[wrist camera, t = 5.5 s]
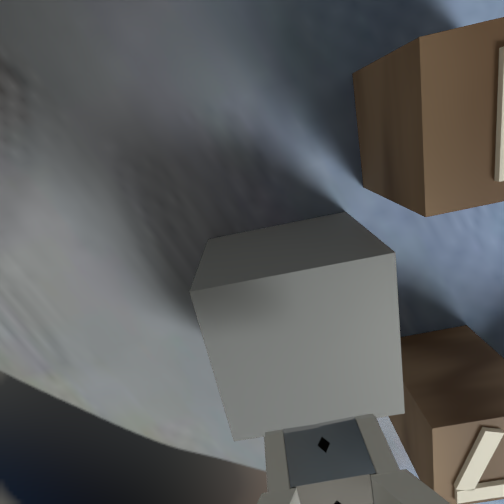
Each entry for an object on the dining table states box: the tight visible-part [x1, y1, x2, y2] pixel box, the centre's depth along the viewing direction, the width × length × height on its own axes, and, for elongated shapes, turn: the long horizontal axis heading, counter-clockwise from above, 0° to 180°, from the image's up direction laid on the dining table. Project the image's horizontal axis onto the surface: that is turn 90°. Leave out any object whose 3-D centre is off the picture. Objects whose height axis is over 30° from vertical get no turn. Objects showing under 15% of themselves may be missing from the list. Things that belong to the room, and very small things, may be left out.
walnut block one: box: [352, 17, 504, 217], centre depth 12 cm, size 5×5×6 cm
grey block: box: [189, 212, 405, 441], centre depth 15 cm, size 7×7×6 cm
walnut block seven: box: [389, 325, 504, 504], centre depth 17 cm, size 5×5×6 cm
